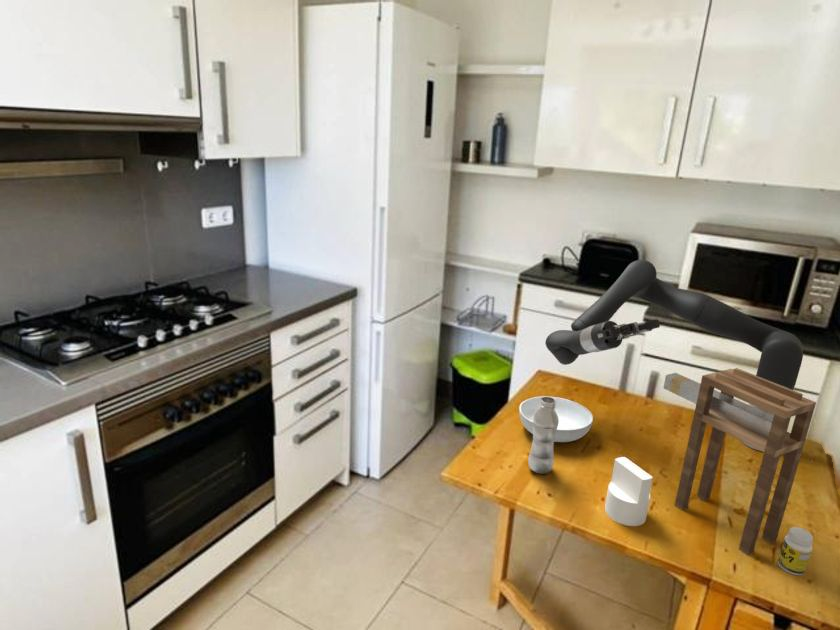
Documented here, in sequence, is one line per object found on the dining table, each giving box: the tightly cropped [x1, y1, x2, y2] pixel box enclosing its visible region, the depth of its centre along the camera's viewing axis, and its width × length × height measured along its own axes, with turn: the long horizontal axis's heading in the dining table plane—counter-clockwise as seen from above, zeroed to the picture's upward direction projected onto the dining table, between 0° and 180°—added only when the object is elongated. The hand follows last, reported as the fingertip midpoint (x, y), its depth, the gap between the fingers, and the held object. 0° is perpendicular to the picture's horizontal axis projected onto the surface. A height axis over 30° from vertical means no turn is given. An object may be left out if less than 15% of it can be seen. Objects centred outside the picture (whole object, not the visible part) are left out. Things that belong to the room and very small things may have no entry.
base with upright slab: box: [604, 456, 654, 527], centre depth 125 cm, size 9×9×12 cm
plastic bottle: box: [527, 396, 559, 475], centre depth 139 cm, size 6×7×20 cm
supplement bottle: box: [777, 526, 814, 576], centre depth 111 cm, size 5×5×8 cm
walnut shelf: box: [674, 367, 817, 556], centre depth 119 cm, size 10×18×35 cm, turn 28°
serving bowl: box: [518, 395, 594, 443], centre depth 160 cm, size 21×21×7 cm
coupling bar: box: [663, 372, 774, 438], centre depth 122 cm, size 4×26×4 cm, turn 28°
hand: (646, 325), depth 138 cm, fingers open, 8 cm apart
